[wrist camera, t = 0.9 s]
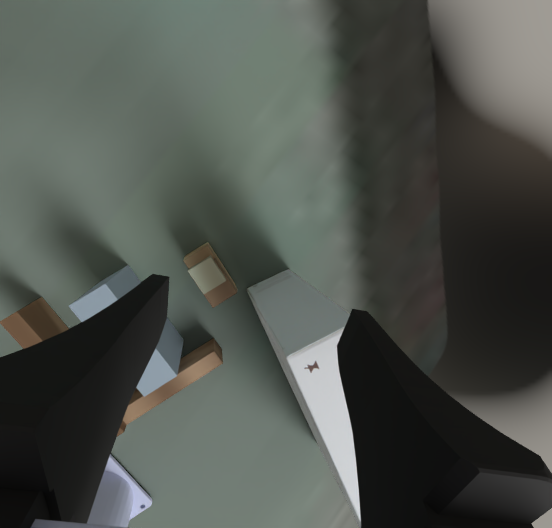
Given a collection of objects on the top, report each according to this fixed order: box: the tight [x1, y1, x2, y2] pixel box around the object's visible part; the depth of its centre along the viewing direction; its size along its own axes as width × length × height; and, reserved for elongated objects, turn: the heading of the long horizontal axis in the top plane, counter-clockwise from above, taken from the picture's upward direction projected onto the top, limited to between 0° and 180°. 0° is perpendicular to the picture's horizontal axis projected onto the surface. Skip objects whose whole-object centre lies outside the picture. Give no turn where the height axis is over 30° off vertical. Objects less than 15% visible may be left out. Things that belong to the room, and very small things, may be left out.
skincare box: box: [247, 269, 361, 528], centre depth 28 cm, size 21×5×16 cm, turn 22°
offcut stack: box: [183, 242, 237, 308], centre depth 30 cm, size 2×5×4 cm, turn 30°
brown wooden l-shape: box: [0, 297, 223, 436], centre depth 30 cm, size 12×14×4 cm
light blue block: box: [69, 265, 184, 397], centre depth 28 cm, size 3×9×7 cm, turn 30°
